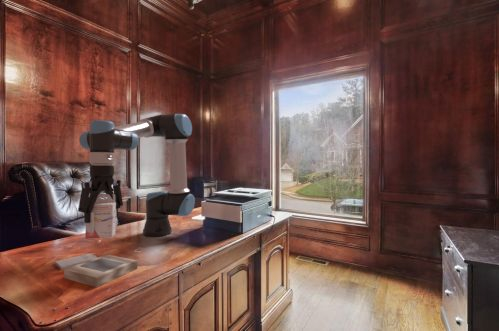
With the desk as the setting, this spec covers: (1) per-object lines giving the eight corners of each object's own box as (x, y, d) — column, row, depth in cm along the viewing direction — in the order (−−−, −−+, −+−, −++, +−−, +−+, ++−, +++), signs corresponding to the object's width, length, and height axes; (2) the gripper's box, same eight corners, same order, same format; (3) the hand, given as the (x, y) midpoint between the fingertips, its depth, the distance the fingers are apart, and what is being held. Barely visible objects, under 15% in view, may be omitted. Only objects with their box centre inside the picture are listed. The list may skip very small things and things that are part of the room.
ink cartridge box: (84, 239, 90) (85, 195, 89) (89, 235, 94) (90, 194, 94) (112, 237, 92) (112, 195, 92) (116, 233, 96) (116, 193, 96)
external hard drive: (54, 265, 102) (90, 256, 111) (61, 271, 96) (98, 261, 106) (54, 261, 102) (90, 252, 111) (61, 266, 96) (98, 257, 106)
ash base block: (106, 262, 104) (106, 254, 104) (137, 268, 98) (137, 260, 98) (64, 278, 89) (64, 269, 89) (97, 287, 83) (97, 277, 83)
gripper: (79, 164, 82) (79, 238, 82) (133, 164, 101) (133, 223, 101) (64, 164, 85) (64, 235, 85) (119, 164, 104) (119, 222, 104)
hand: (102, 229), depth 93 cm, fingers closed on ink cartridge box, 8 cm apart
